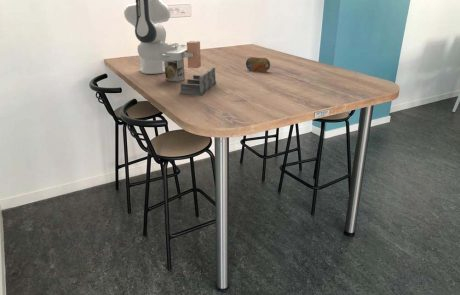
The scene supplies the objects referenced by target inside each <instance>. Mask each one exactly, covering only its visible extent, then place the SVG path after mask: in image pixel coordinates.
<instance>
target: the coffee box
mask: <svg viewBox="0 0 460 295" xmlns="http://www.w3.org/2000/svg"><path fill="white" fill-rule="evenodd" d="M184 62H185V61H184V58H183V59H181V60H179V61H173V62H167V61H164V64H165V80H166V81H170V82H181V81H185V79H186V77H185V76H186V74H185V63H184Z"/></svg>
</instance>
